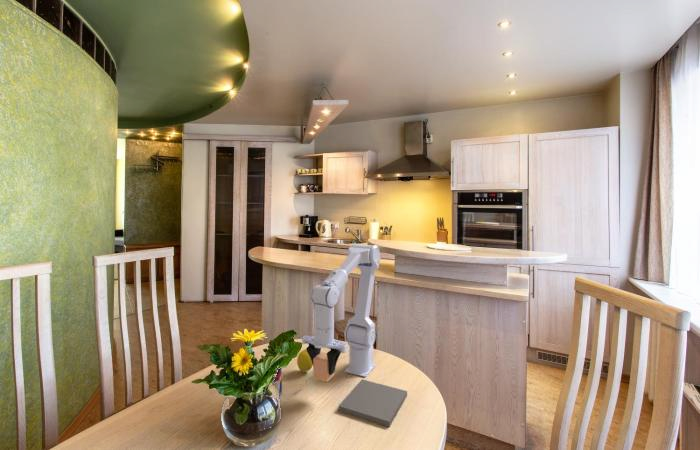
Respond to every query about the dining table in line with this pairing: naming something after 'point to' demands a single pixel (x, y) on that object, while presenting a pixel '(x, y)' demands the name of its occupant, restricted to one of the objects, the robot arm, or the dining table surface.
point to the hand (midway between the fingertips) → (324, 371)
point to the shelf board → (374, 402)
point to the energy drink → (278, 381)
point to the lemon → (304, 361)
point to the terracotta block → (321, 368)
